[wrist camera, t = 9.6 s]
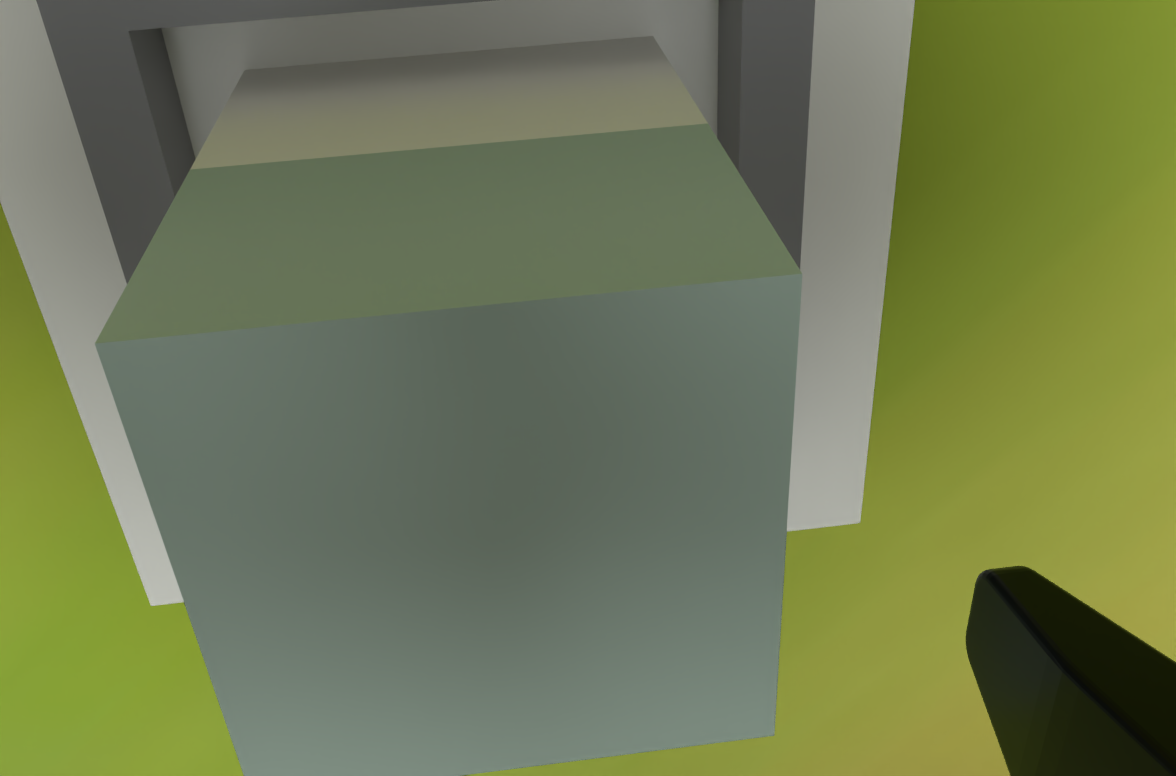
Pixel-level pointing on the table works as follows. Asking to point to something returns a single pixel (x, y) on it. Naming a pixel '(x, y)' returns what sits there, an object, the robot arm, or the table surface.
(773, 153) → the socket plate
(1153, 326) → the table surface
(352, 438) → the grey green box
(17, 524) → the table surface
